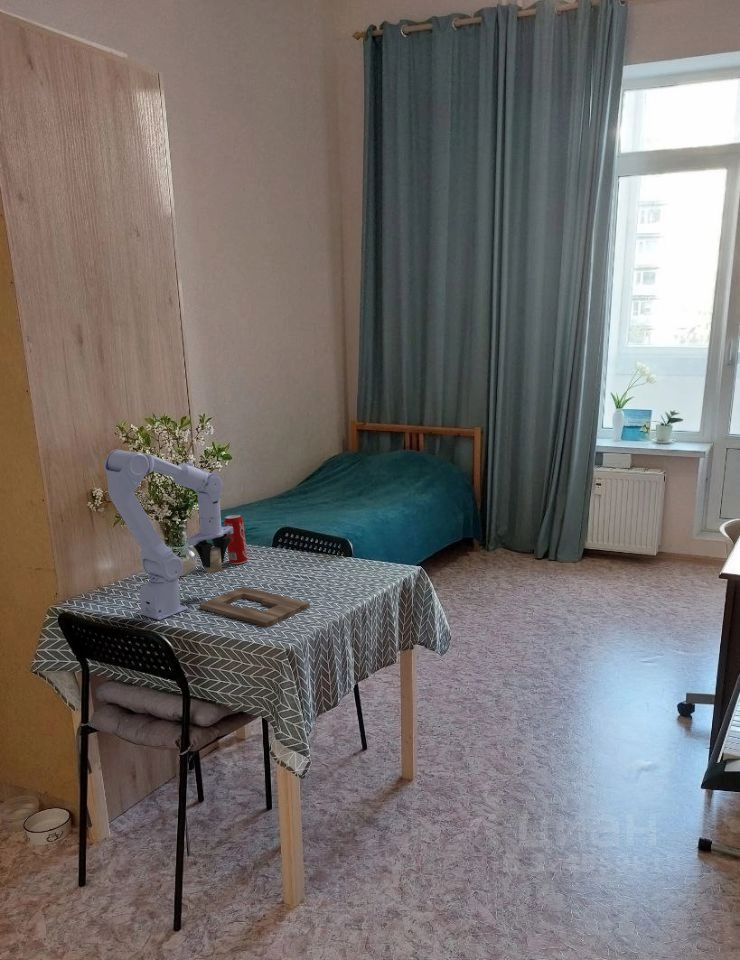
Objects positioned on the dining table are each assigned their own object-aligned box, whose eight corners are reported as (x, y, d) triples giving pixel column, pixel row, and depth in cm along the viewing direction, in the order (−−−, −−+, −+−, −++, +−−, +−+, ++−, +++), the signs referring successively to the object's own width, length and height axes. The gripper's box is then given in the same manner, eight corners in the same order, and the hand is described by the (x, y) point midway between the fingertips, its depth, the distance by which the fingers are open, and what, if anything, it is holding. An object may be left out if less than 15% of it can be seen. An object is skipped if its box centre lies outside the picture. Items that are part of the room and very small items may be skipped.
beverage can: (246, 564, 229) (243, 517, 226) (225, 565, 229) (222, 518, 226) (249, 559, 235) (246, 513, 232) (228, 559, 235) (225, 513, 232)
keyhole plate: (266, 627, 179) (266, 622, 179) (199, 608, 193) (199, 604, 193) (309, 607, 192) (309, 602, 192) (243, 590, 206) (243, 586, 205)
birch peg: (213, 573, 199) (211, 552, 198) (202, 571, 202) (200, 550, 201) (225, 569, 203) (223, 548, 202) (214, 566, 205) (212, 546, 204)
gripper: (199, 524, 191) (203, 574, 194) (239, 512, 203) (242, 560, 206) (181, 520, 195) (185, 569, 198) (222, 509, 207) (225, 556, 210)
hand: (213, 564), depth 202 cm, fingers closed on birch peg, 4 cm apart
